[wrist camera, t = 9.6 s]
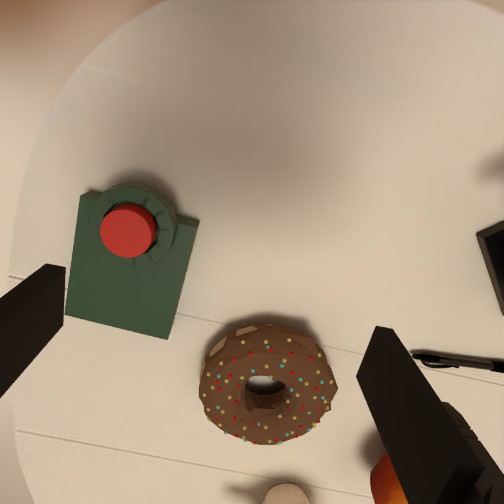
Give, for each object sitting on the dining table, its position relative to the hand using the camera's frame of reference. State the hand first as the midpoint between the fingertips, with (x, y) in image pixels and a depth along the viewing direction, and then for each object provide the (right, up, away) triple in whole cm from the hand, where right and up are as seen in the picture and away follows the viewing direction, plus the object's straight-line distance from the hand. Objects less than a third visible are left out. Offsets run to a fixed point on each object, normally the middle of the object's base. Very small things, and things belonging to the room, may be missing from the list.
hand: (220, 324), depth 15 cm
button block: (-10, +3, +19) cm, 22 cm away
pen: (+25, -9, +24) cm, 36 cm away
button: (-9, +5, +15) cm, 18 cm away
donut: (+3, -9, +25) cm, 27 cm away
